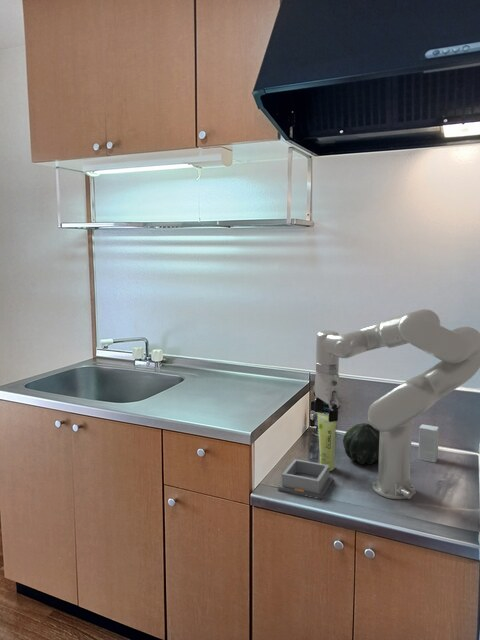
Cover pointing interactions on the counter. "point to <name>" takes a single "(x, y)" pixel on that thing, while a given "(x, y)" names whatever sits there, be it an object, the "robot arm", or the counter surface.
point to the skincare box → (428, 443)
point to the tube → (326, 440)
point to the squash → (362, 443)
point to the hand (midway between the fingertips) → (325, 416)
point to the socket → (306, 478)
